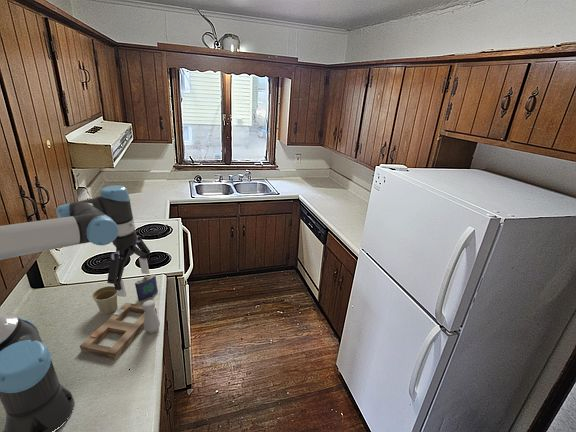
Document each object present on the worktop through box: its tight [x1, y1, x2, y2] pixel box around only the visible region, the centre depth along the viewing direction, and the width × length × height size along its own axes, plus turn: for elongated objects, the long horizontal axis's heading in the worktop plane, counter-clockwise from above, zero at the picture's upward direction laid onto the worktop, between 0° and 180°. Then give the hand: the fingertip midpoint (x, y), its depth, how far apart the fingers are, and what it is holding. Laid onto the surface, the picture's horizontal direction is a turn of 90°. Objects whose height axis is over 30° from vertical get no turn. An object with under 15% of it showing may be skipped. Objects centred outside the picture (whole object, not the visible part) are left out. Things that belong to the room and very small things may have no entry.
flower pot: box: [91, 285, 118, 315], centre depth 125 cm, size 9×9×9 cm
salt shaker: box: [141, 299, 161, 335], centre depth 115 cm, size 6×6×13 cm
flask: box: [134, 274, 159, 302], centre depth 134 cm, size 9×3×11 cm, turn 144°
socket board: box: [79, 302, 158, 359], centre depth 116 cm, size 24×14×3 cm, turn 169°
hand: (134, 284), depth 110 cm, fingers open, 13 cm apart
